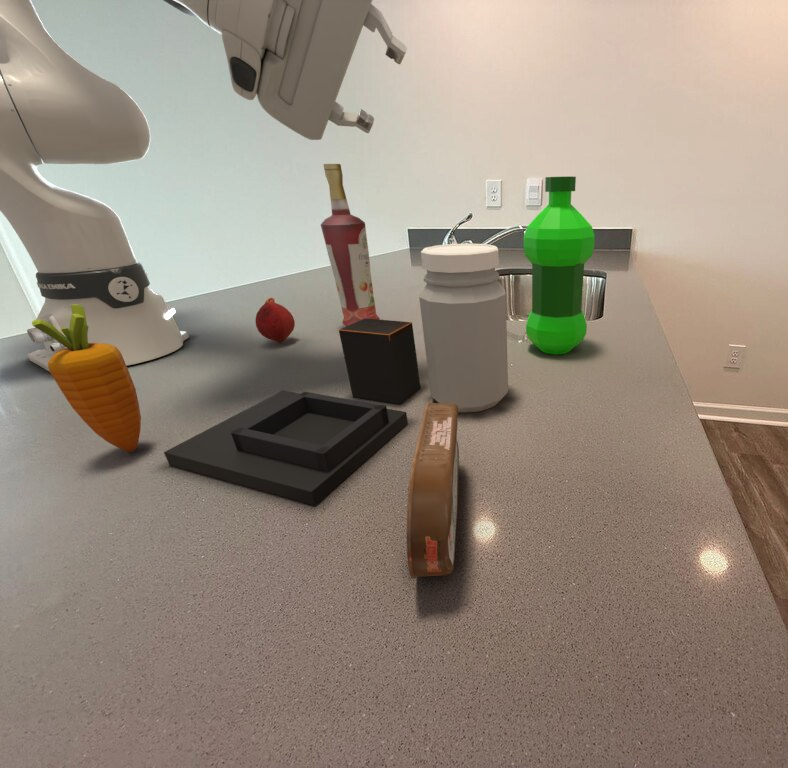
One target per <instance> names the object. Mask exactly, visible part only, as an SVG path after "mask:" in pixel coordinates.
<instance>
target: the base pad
mask: <svg viewBox="0 0 788 768" xmlns="http://www.w3.org/2000/svg"><path fill="white" fill-rule="evenodd" d="M407 415H408V414H407V411H405V410H404V411H403V410H397V409H392V408H387V405H385V404H379V403H373V402H368V401H360V400H356V399H349V398H343V397H339V396H332V395H325V394H320V393H316V392H315V393H314V392H310V391H309V392H308V391H302V392H301V393H299V392H293V391H287V390H281V391H279V392H277V393H275V394H273V395H271V396H270V397H267V398H265V399H263V400H261V401H260V402H258V403H256V404H253V405H251V406H250V407H248V408H246V409H244V410H242V411H240V412H238V413H237V414H235V415H232V416H231V417H228V418H226V419H225V420H223V421H221V422H219V423H217V424H215V425H214V426H211V427H210V428H208V429H206V430H204V431H201V432H200V433H198V434H196V435H194V436H192V437H190V438H187V439H186V440H184V441H182V442H181V443H179V444H176V445H175V446H173V447H170V448H168V449H166V451H164V452H163V454H164V456H165V459H166V460H167V463H168V465H169V466H173V467H177V468H179V469H183V470H187V471H190V472H194V473H196V474H202V475H204V476H208V477H212V478H216V479H219V480H222V481H226V482H230V483H234V484H237V485H241V486H244V487H247V488H251V489H254V490H259V491H262V492H266V493H268V494H273V495H275V496H276V495H277V496H280V497H283V498H287V499H291V500H295V501H298V502H301V503H305V504H309V505H312V506H317V505H318V504H319V503H320V502H321V501H322V500H324V499H325V497H327V496H328V495H329V494H330V493H331V492H332V491H334V490H335V489H336V488H337V487H338V486H339V485H340V484H342V482H345V480H346V479H347V478H348V477H350V475H351V474H353V473H354V472H355V471H356V470H357V469H358V468H359V467H361V466H362V465H363V464H364V463H365V462H366V461H367V460H368V459H370V458H371V457H372V456H373V455H374V454H375V453H377V451H379V450H380V449H381V448H382V447H383V446H384V445H386V444H387V442H389V441H390V440H391V439H392V438H393V437H395V435H397V433H399V432H400V431H401V430H402V429H403V428H404V427H406V426H407V425H408V423H409V421H408V416H407Z"/></svg>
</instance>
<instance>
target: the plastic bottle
mask: <svg viewBox="0 0 788 768" xmlns="http://www.w3.org/2000/svg"><path fill="white" fill-rule="evenodd" d="M544 179H545V182H544V183H545V185H544V192H545V193H548V205H546V206H545V207H544V208H543V209H542V210H541V211H540V212H539V213H537V216H535V217H534V219H532V220H531V222H530V223H529V224H528V225H527V226H526V228H525V232H524V235H523V250H524V255H525V257H526V259H527V260H528V261H529V262H530V263H531V270H532V271H531V274H532V275H531V307H532V308H531V310H530V312H529V314H528V316H527V318H526V319H527V320H526V324H525V331H526V332H525V333H526V335H527V338H528V340H529V341H530V342H531V344H532V345H534V346H536V347H537V348H538V349H539V351H541V352H542V353H544V354H549V355H563V354H564V355H565V354H567V353H570V352H571V351H572V349H574V348H575V347H577V346H578V345H579V344H581V343H582V341H583V340H584V339H585V337H586V335H587V329H588V328H587V327H588V325H587V321H586V317H585V314H584V312H583V310H582V309H583V292H584V277H585V276H584V274H585V263H587V262H588V260H589V259H591V258H592V256H593V253H594V249H595V239H596V238H595V237H596V235H595V231H594V228H593V226H592V225H591V224H590V222H588V220H587V219H586V218H585V217H584V215H583V214H582V213H581V212H579V210H578V209H577V208H576V207H575V206H573V204H572V192H576V185H577V184H576V183H577V177H576V176H546V177H545V178H544Z"/></svg>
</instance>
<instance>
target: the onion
mask: <svg viewBox="0 0 788 768" xmlns="http://www.w3.org/2000/svg"><path fill="white" fill-rule="evenodd" d="M295 326H296V322H295V318H294V316H293V314H292V313H291V312H290V310H289V309H287V308H286V307H285V306H283V305H281V304H279V303H277V302H276V301H275V298H274V297H272V296H270V297H267V298H266V300H265V302H264V304H262V306H261V307H260V308H259V310H257V312H256V315H255V327H256V330H257V331H258V332H259V334H260V335H261V336H262V337H264V338H266V339H268V340H270V341H273V342H276V343H277V344H283V343H285V341H287V339H288V337H289V336H291V334H292V333H293V331H294V329H295Z"/></svg>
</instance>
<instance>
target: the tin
mask: <svg viewBox="0 0 788 768" xmlns="http://www.w3.org/2000/svg"><path fill="white" fill-rule="evenodd" d="M458 419H459V412H458V405H456V404H452V403H438V402H431V401H427V402H426V403H425V405H424V409H423V414H422V418H421V422H420V426H419V427H420V428H419V432H418V436H417V441H416V444H415V449H414V453H413V457H412V462H411V466H410V467H411V468H410V472H409V473H410V475H409V481H408V494H407V505H406V555H407V556H406V557H407V567H408V572H409V576H410V578H411V579H416V578H417V577H418V578H419V577H439V576H447V575H450V574H452V572H453V570H454V566H455V554H456V538H457V525H458V509H459V508H458V507H459V476H460V475H459V471H460V470H459V469H460V467H459V466H460V462H459V461H460V453H459V452H460V450H459V443H458Z"/></svg>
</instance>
